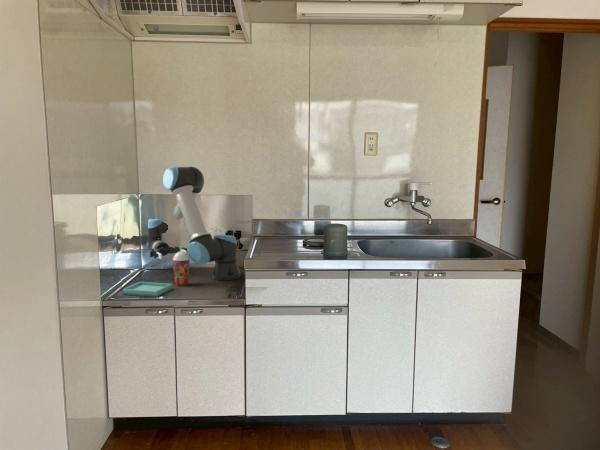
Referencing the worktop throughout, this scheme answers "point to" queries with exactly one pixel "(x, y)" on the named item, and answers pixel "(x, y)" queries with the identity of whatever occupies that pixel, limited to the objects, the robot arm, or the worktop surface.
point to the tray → (147, 289)
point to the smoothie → (181, 268)
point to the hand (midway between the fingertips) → (173, 255)
